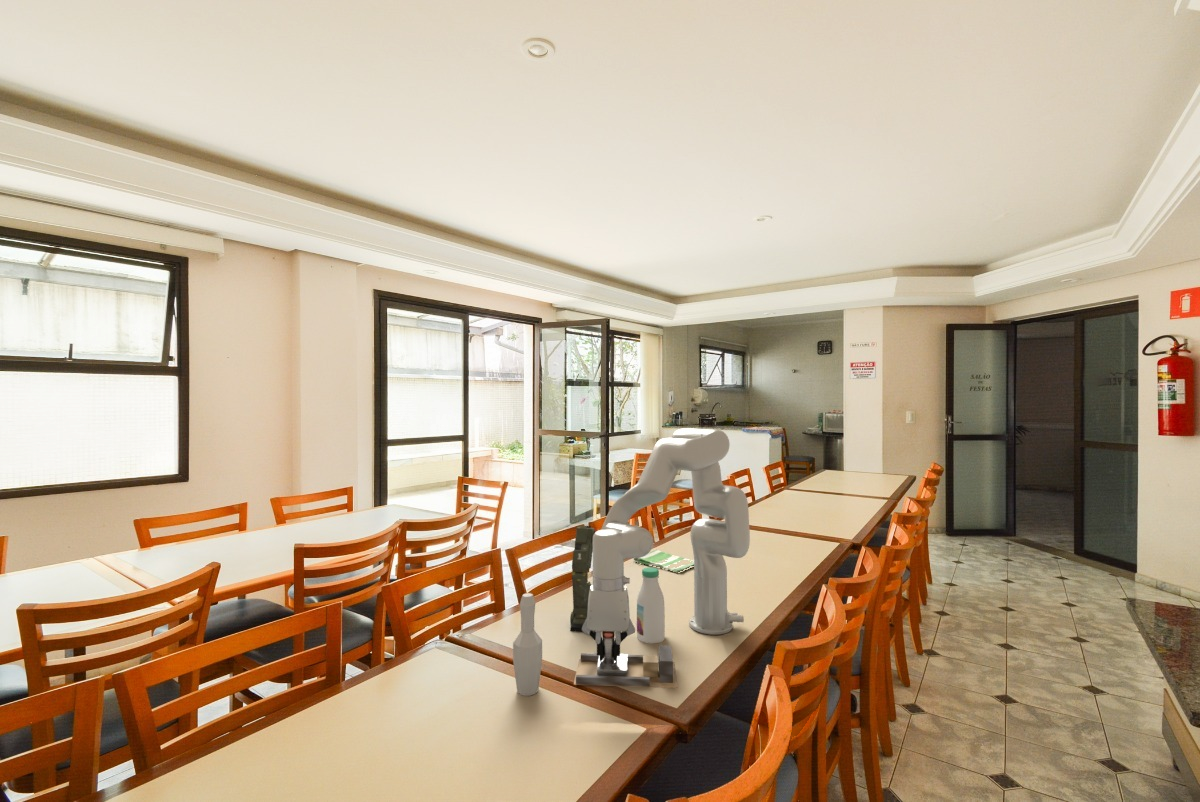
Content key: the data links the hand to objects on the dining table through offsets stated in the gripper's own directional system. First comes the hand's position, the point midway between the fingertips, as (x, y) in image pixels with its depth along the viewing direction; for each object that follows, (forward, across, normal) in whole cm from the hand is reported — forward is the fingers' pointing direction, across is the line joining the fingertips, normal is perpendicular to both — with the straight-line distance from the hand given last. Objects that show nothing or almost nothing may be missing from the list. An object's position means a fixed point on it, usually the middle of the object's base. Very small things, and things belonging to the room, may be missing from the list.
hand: (608, 657), depth 128 cm
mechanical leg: (+5, +9, -31) cm, 33 cm away
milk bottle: (+5, -11, -20) cm, 23 cm away
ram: (+3, -1, 0) cm, 3 cm away
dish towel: (+5, -19, -93) cm, 95 cm away
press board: (+5, -4, 0) cm, 6 cm away
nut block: (+3, -10, 0) cm, 11 cm away
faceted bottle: (+5, +18, +7) cm, 20 cm away
